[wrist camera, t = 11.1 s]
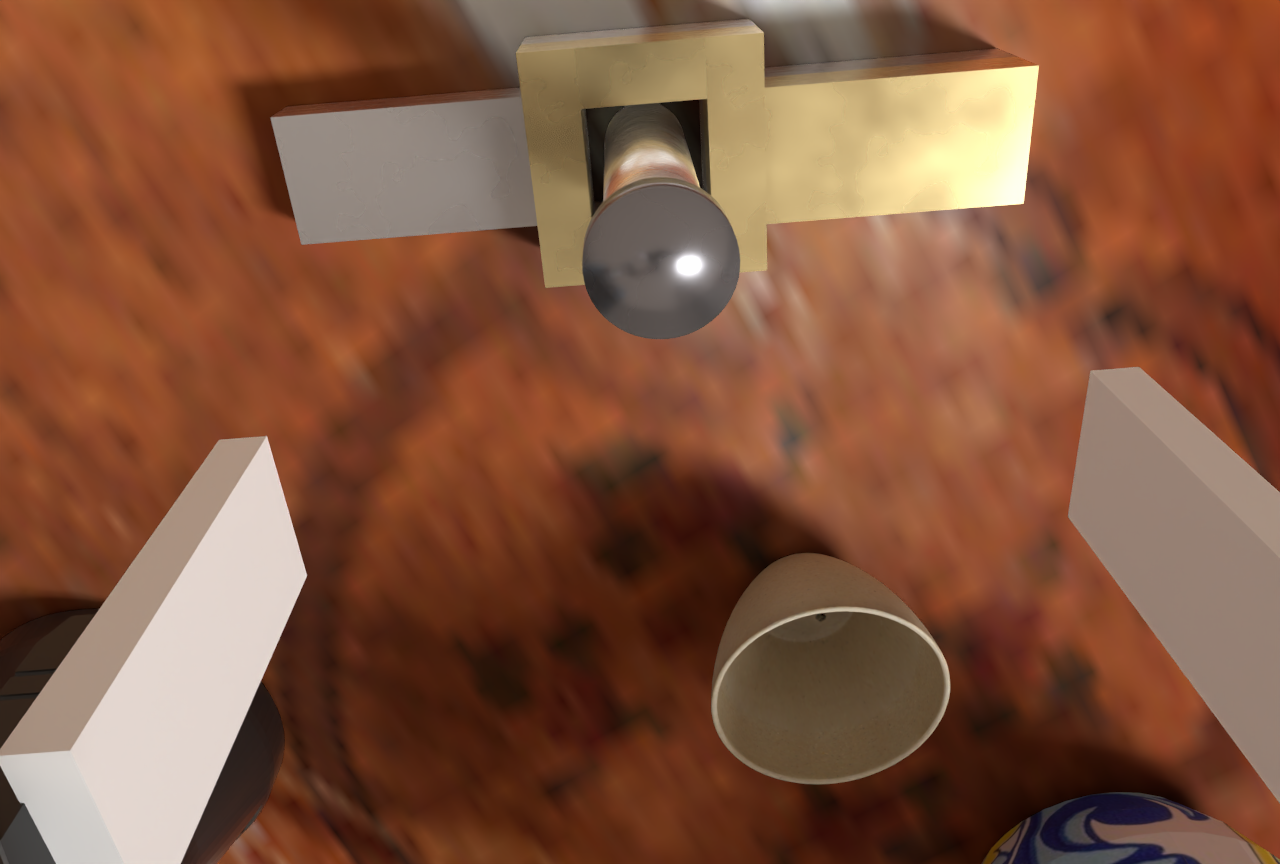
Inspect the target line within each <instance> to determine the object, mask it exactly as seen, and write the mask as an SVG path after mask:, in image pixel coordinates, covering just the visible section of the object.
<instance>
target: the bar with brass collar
mask: <svg viewBox="0 0 1280 864" xmlns="http://www.w3.org/2000/svg"><path fill="white" fill-rule="evenodd" d="M516 59H517V67H518V75H519V83H520V87H519V88H507V89H495V90H482V91H470V92H458V93H446V94H433V95H421V96H409V97H397V98H384V99H372V100H360V101H348V102H335V103H323V104H311V105H299V106H287V107H285V108H284V109H282V110H281V111H279V112H278V113H276V114H275V115H273V116H272V117H270V118H271V122H272V126H273V130H274V134H275V139H276V143H277V147H278V151H279V155H280V159H281V163H282V167H283V171H284V175H285V179H286V184H287V188H288V192H289V196H290V200H291V204H292V208H293V212H294V216H295V220H296V224H297V229H298V233H299V237H300V241H301V245H303V244H316V243H328V242H341V241H354V240H366V239H379V238H391V237H404V236H416V235H429V234H441V233H454V232H466V231H479V230H491V229H504V228H516V227H529V226H538V234H539V242H540V250H541V257H542V265H543V273H544V281H545V288H549V287H561V286H574V285H585V283H584V278H583V271H582V258H583V246H584V239H585V234H586V230H587V228H588V225H589V223H590V220H591V219H592V217H593V215H594V213H595V212H596V210H597V209H598V208H599V206H600V205H601V204H602V203H603V200H602V201H594V190H593V180H592V170H591V160H590V149H589V139H588V129H587V118H586V109H588V108H600V107H612V106H625V105H637V104H649V103H661V102H674V101H686V100H698V99H699V111H700V134H701V157H702V179H703V190H705V191H706V192H707V193H708V194H710V195H711V196H712V197H713V198H714V199H715V200H716V201H717V202H718V203H719V204H720V206H721V207H722V208H723V210H724V211H725V213H726V214H727V216H728V218H729V220H730V223H731V225H732V228H733V231H734V233H735V236H736V239H737V242H738V246H739V252H740V272H751V271H764V270H767V225H766V224H774V223H787V222H799V221H812V220H824V219H837V218H849V217H862V216H875V215H887V214H900V213H912V212H925V211H937V210H950V209H963V208H975V207H988V206H1000V205H1013V204H1023V203H1024V194H1025V185H1026V176H1027V167H1028V158H1029V149H1030V140H1031V131H1032V122H1033V113H1034V104H1035V96H1036V87H1037V78H1038V69H1039V65H1037V64H1034V63H1032V62H1029V61H1027V60H1024V59H1022V58H1020V57H1017V56H1015V55H1012V54H1010V53H1007V52H1005V51H1003V50H1000V49H998V48H996V49H984V50H972V51H960V52H947V53H935V54H923V55H911V56H898V57H886V58H874V59H862V60H849V61H837V62H825V63H813V64H800V65H788V66H776V67H764V32H763V31H762V30H760V29H759V28H758V27H757V26H756V25H755V24H754V23H753V22H752V21H751V20H750V19H737V20H725V21H713V22H701V23H689V24H676V25H664V26H652V27H640V28H628V29H616V30H604V31H592V32H579V33H567V34H555V35H543V36H531V37H525V38H524V40H523V42H522V43H521V45H520V47H519V48H518V50H517V52H516Z"/></svg>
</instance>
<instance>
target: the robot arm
mask: <svg viewBox="0 0 1280 864" xmlns="http://www.w3.org/2000/svg"><path fill="white" fill-rule="evenodd" d="M1068 517H1069V519H1070V520H1071V521H1072V523H1073V524H1074V525H1075V527H1076V528H1077V530H1078V531H1079V532H1080V534H1081V535H1082V536H1083V538H1084V539H1085V540H1086V542H1087V543H1088V544H1089V546H1090V547H1091V548H1092V550H1093V551H1094V553H1095V554H1096V555H1097V557H1098V558H1099V559H1100V561H1101V562H1102V563H1103V565H1104V566H1105V567H1106V569H1107V570H1108V571H1109V573H1110V574H1111V576H1112V577H1113V578H1114V580H1115V581H1116V582H1117V584H1118V585H1119V586H1120V588H1121V589H1122V590H1123V592H1124V593H1125V594H1126V596H1127V597H1128V599H1129V600H1130V601H1131V603H1132V604H1133V605H1134V607H1135V608H1136V609H1137V611H1138V612H1139V613H1140V615H1141V616H1142V618H1143V619H1144V620H1145V622H1146V623H1147V624H1148V626H1149V627H1150V628H1151V630H1152V631H1153V632H1154V634H1155V635H1156V636H1157V638H1158V639H1159V641H1160V642H1161V643H1162V645H1163V646H1164V647H1165V649H1166V650H1167V651H1168V653H1169V654H1170V655H1171V657H1172V658H1173V659H1174V661H1175V662H1176V664H1177V665H1178V666H1179V668H1180V669H1181V670H1182V672H1183V673H1184V674H1185V676H1186V677H1187V678H1188V680H1189V681H1190V682H1191V684H1192V685H1193V687H1194V688H1195V689H1196V691H1197V692H1198V693H1199V695H1200V696H1201V697H1202V699H1203V700H1204V701H1205V703H1206V704H1207V705H1208V707H1209V708H1210V710H1211V711H1212V712H1213V714H1214V715H1215V716H1216V718H1217V719H1218V720H1219V722H1220V723H1221V724H1222V726H1223V727H1224V729H1225V730H1226V731H1227V733H1228V734H1229V735H1230V737H1231V738H1232V739H1233V741H1234V742H1235V743H1236V745H1237V746H1238V747H1239V749H1240V750H1241V752H1242V753H1243V754H1244V756H1245V757H1246V758H1247V760H1248V761H1249V762H1250V764H1251V765H1252V766H1253V768H1254V769H1255V770H1256V772H1257V773H1258V775H1259V776H1260V777H1261V779H1262V780H1263V781H1264V783H1265V784H1266V785H1267V787H1268V788H1269V789H1270V791H1271V792H1272V793H1273V795H1274V796H1275V798H1276V799H1277V800H1278V802H1279V803H1280V492H1279V491H1277V490H1276V489H1275V488H1274V487H1273V486H1272V485H1271V484H1270V483H1269V482H1267V481H1266V480H1265V479H1264V478H1263V477H1262V476H1261V475H1260V474H1258V473H1257V472H1256V471H1255V470H1254V469H1253V468H1252V467H1251V466H1249V465H1248V464H1247V463H1246V462H1245V461H1244V460H1243V459H1242V458H1240V457H1239V456H1238V455H1237V454H1236V453H1235V452H1234V451H1233V450H1232V449H1230V448H1229V447H1228V446H1227V445H1226V444H1225V443H1224V442H1223V441H1221V440H1220V439H1219V438H1218V437H1217V436H1216V435H1215V434H1214V433H1212V432H1211V431H1210V430H1209V429H1208V428H1207V427H1206V426H1205V425H1203V424H1202V423H1201V422H1200V421H1199V420H1198V419H1197V418H1196V417H1195V416H1193V415H1192V414H1191V413H1190V412H1189V411H1188V410H1187V409H1186V408H1184V407H1183V406H1182V405H1181V404H1180V403H1179V402H1178V401H1177V400H1175V399H1174V398H1173V397H1172V396H1171V395H1170V394H1169V393H1168V392H1166V391H1165V390H1164V389H1163V388H1162V387H1161V386H1160V385H1159V384H1158V383H1156V382H1155V381H1154V380H1153V379H1152V378H1151V377H1150V376H1149V375H1147V374H1146V373H1145V372H1144V371H1143V370H1142V369H1141V368H1140V367H1132V368H1119V369H1107V370H1094V371H1090V377H1089V384H1088V390H1087V396H1086V403H1085V409H1084V416H1083V422H1082V429H1081V435H1080V441H1079V448H1078V454H1077V461H1076V467H1075V474H1074V480H1073V486H1072V493H1071V499H1070V506H1069V512H1068ZM306 577H307V574H306V570H305V567H304V563H303V560H302V556H301V553H300V549H299V546H298V542H297V539H296V535H295V532H294V529H293V525H292V522H291V518H290V515H289V511H288V508H287V504H286V501H285V497H284V494H283V490H282V487H281V483H280V480H279V476H278V473H277V469H276V466H275V463H274V459H273V456H272V452H271V449H270V445H269V442H268V438H267V436H262V437H250V438H237V439H224V440H219V441H218V442H217V444H216V445H215V447H214V448H213V449H212V451H211V452H210V454H209V455H208V456H207V458H206V459H205V461H204V462H203V464H202V465H201V466H200V468H199V469H198V471H197V472H196V473H195V475H194V476H193V478H192V479H191V480H190V482H189V483H188V485H187V486H186V488H185V489H184V490H183V492H182V493H181V495H180V496H179V497H178V499H177V500H176V502H175V503H174V504H173V506H172V507H171V509H170V510H169V512H168V513H167V514H166V516H165V517H164V519H163V520H162V521H161V523H160V524H159V526H158V527H157V528H156V530H155V531H154V533H153V534H152V536H151V537H150V538H149V540H148V541H147V543H146V544H145V545H144V547H143V548H142V550H141V551H140V552H139V554H138V555H137V557H136V558H135V560H134V561H133V562H132V564H131V565H130V567H129V568H128V569H127V571H126V572H125V574H124V575H123V576H122V578H121V579H120V581H119V582H118V584H117V585H116V586H115V588H114V589H113V591H112V592H111V593H110V595H109V596H108V598H107V599H106V600H105V602H104V603H103V605H102V606H101V608H100V609H81V610H72V611H65V612H59V613H55V614H51V615H47V616H44V617H41V618H38V619H35V620H33V621H30V622H28V623H26V624H24V625H22V626H20V627H18V628H16V629H15V630H13V631H11V632H10V633H9V634H7V635H6V636H5V637H3V638H2V639H1V640H0V864H217V862H218V861H219V860H220V859H221V858H222V856H223V855H224V854H225V853H226V851H227V850H228V849H229V848H230V846H231V845H232V844H233V843H234V841H235V840H236V839H237V838H238V837H239V836H240V835H241V834H243V833H244V832H245V831H246V830H247V829H248V827H249V826H250V825H251V824H252V823H253V822H254V821H255V820H256V818H257V817H258V815H259V814H260V812H261V811H262V809H263V807H264V806H265V804H266V802H267V800H268V798H269V795H270V793H271V790H272V787H273V785H274V782H275V779H276V777H277V774H278V772H279V769H280V766H281V763H282V759H283V755H284V743H285V740H284V730H283V725H282V721H281V717H280V715H279V712H278V709H277V707H276V705H275V703H274V701H273V699H272V697H271V696H270V694H269V692H268V691H267V689H266V688H265V687H264V685H263V684H262V682H261V680H262V677H263V675H264V673H265V670H266V668H267V666H268V664H269V661H270V659H271V657H272V655H273V652H274V650H275V648H276V645H277V643H278V641H279V639H280V636H281V634H282V632H283V629H284V627H285V625H286V623H287V620H288V618H289V616H290V614H291V611H292V609H293V607H294V604H295V602H296V600H297V598H298V595H299V593H300V591H301V588H302V586H303V584H304V582H305V579H306Z"/></svg>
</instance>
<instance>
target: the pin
mask: <svg viewBox="0 0 1280 864" xmlns="http://www.w3.org/2000/svg"><path fill="white" fill-rule="evenodd" d="M582 271H583V278H584V283H585V286H586V289H587V292H588V294H589V296H590V298H591V300H592V302H593V303H594V305H595V306H596V308H597V309H598V310H599V312H600V313H601V314H602V315H603V316H604V317H605V318H606V319H607V320H608V321H609V322H611V323H612V324H614V325H615V326H616V327H618V328H620V329H622V330H624V331H625V332H627V333H630V334H633V335H636V336H639V337H644V338H650V339H669V338H676V337H680V336H684V335H687V334H689V333H692V332H694V331H696V330H698V329H700V328H702V327H704V326H705V325H706V324H708V323H709V322H711V321H712V320H713V319H714V318H715V317H716V316H717V315H718V314H719V313H720V312H721V311H722V310H723V309H724V308H725V306H726V305H727V303H728V302H729V300H730V299H731V297H732V295H733V292H734V290H735V288H736V285H737V282H738V278H739V272H740V252H739V246H738V242H737V239H736V236H735V233H734V231H733V228H732V225H731V223H730V220H729V218H728V216H727V214H726V213H725V211H724V210H723V208H722V207H721V206H720V204H719V203H718V202H717V201H716V200H715V199H714V198H713V197H712V196H711V195H710V194H708V193H707V192H706V191H705V190H703V189H701V188H700V186H699V182H698V179H697V176H696V172H695V169H694V166H693V162H692V159H691V156H690V152H689V149H688V146H687V142H686V139H685V136H684V132H683V129H682V127H681V124H680V122H679V120H678V119H677V117H676V116H675V115H674V114H673V113H672V112H671V111H670V110H669V109H668V108H666V107H664V106H663V105H661V104H658V103H649V104H637V105H627V106H625V107H623V108H622V109H621V110H619V111H618V112H617V113H616V114H615V115H614V116H613V118H612V119H611V121H610V123H609V125H608V127H607V130H606V134H605V146H604V194H603V203H602V204H601V205H600V206H599V208H598V209H597V210H596V212H595V213H594V215H593V217H592V219H591V220H590V223H589V225H588V228H587V230H586V234H585V239H584V246H583V258H582Z"/></svg>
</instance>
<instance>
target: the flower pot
mask: <svg viewBox="0 0 1280 864" xmlns="http://www.w3.org/2000/svg"><path fill="white" fill-rule="evenodd" d="M820 613H823V614H824V615H825V616H823V615H821V614H820ZM949 695H950V675H949V670H948V666H947V663H946V660H945V658H944V656H943V654H942V652H941V650H940V649H939V647H938V645H937V644H936V642H935V640H934V639H933V637H932V636H931V635H930V633H929V632H928V630H927V629H926V628H925V626H924V625H923V624H922V622H921V621H920V620H919V619H918V618H917V616H916V615H915V614H914V613H913V612H912V611H911V609H910V608H909V607H908V606H907V605H906V604H905V603H904V602H903V601H902V600H901V599H900V598H899V597H898V596H897V595H895V594H894V593H893V592H892V591H891V590H890V589H888V588H887V587H886V586H885V585H884V584H882V583H881V582H880V581H878V580H877V579H875V578H874V577H872V576H871V575H869V574H868V573H866V572H864V571H863V570H861V569H859V568H857V567H856V566H853V565H851V564H849V563H847V562H845V561H842V560H839V559H837V558H834V557H831V556H827V555H823V554H817V553H799V554H793V555H790V556H786V557H783V558H781V559H779V560H777V561H775V562H773V563H772V564H770V565H769V566H768V567H766V568H765V569H764V570H763V571H762V572H761V573H760V574H759V575H758V576H757V577H756V578H755V579H754V580H753V581H752V582H751V584H750V585H749V586H748V587H747V589H746V590H745V591H744V593H743V594H742V596H741V597H740V599H739V601H738V602H737V604H736V606H735V608H734V609H733V611H732V613H731V615H730V618H729V620H728V622H727V624H726V627H725V630H724V632H723V635H722V638H721V641H720V645H719V648H718V652H717V657H716V661H715V666H714V673H713V680H712V695H711V712H712V718H713V722H714V726H715V728H716V731H717V733H718V735H719V737H720V739H721V740H722V742H723V743H724V745H725V746H726V747H727V748H728V750H729V751H730V752H731V753H732V754H733V755H734V756H735V757H736V758H738V759H739V760H740V761H742V762H743V763H744V764H746V765H747V766H749V767H751V768H752V769H754V770H756V771H758V772H760V773H762V774H764V775H767V776H770V777H773V778H776V779H780V780H784V781H789V782H794V783H801V784H834V783H841V782H847V781H852V780H856V779H860V778H863V777H867V776H870V775H872V774H875V773H877V772H880V771H882V770H884V769H887V768H888V767H890V766H892V765H894V764H896V763H898V762H899V761H901V760H902V759H904V758H906V757H907V756H909V755H910V754H911V753H913V752H914V751H915V750H916V749H918V748H919V747H920V746H921V745H922V744H923V743H924V742H925V741H926V740H927V739H928V738H929V736H930V735H931V734H932V733H933V731H934V730H935V729H936V727H937V726H938V724H939V722H940V721H941V719H942V717H943V715H944V712H945V710H946V707H947V704H948V701H949Z"/></svg>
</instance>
